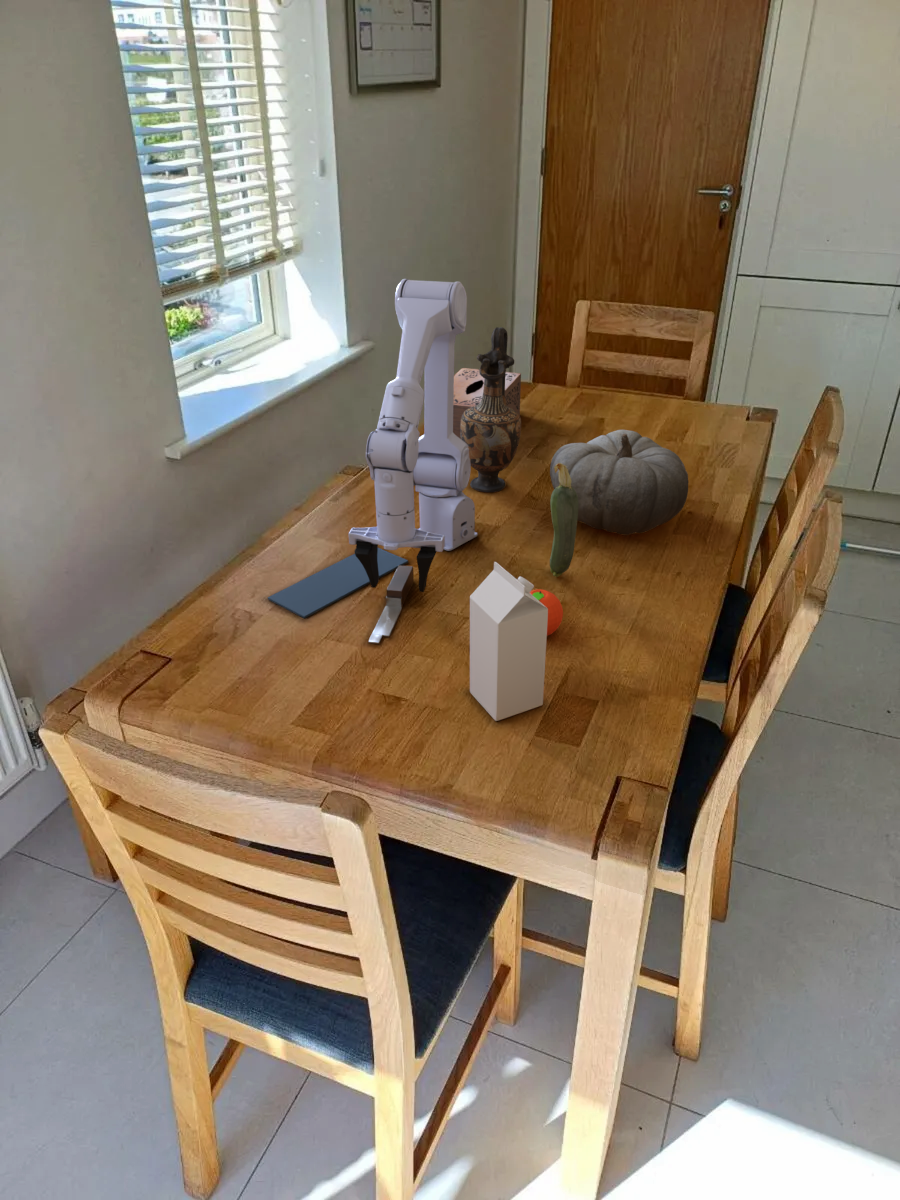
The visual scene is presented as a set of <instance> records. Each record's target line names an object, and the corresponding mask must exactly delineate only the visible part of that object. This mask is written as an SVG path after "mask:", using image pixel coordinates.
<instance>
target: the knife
mask: <svg viewBox="0 0 900 1200" xmlns="http://www.w3.org/2000/svg"><path fill="white" fill-rule="evenodd" d="M414 577H415V576H414V566H413V565H412V566H411V565H399V566H398V568H397V569H395V572H394V573H393V576H392V579H391V580H390V582H389V584H388V586H387V588H386V591H385V592H386V596H385V606H384V608H383V610H382V612H381V615H380V616H379V618H378V620H377V622H376V625H375V627H374V629H373V631H372V633H371V635H370V637H369V638H368V641H367V643H368V644H370V645H371V644H372V645H380V643H381V641H382V639H383V638H390V636H391V634H392V632H393V629H394V628H395V625H396V623H397V621H398V619H399V616H400V614H401V613H402V609H403V606H404V604H405V601H406V600H407V597H408V595H409V593H410V590H411V588H412V586H413V584H414V580H415V578H414Z"/></svg>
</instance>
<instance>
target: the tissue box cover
mask: <svg viewBox="0 0 900 1200" xmlns="http://www.w3.org/2000/svg"><path fill="white" fill-rule="evenodd" d="M479 370H480V368H479V369H478V368H468V367H467V368H466V367H462V368H460V369H459V370H458V371H457V372H456V373H454V396H453V433H454V434H455V435H456V436H457V437H459V438H460V439H461V433H460V426H461V418H462V415H463V413H464V412H465V411H466V410H467V409H468V408H470V407H473V406H476V405H479V404H480V402H481V400H482V396H483V390H484V379H485V378H483V377H482V376H481V375H480V373H479ZM521 381H522V373H521V372H510V371H506V373H505V400H506V405H507V407H510V408H512V409H513V410H515V411H516V412H517V413H518V414H519V415H520V416H521V414H520V413H521V392H522V391H521V387H522V382H521Z"/></svg>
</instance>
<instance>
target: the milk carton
mask: <svg viewBox="0 0 900 1200" xmlns="http://www.w3.org/2000/svg"><path fill="white" fill-rule="evenodd" d="M534 588H535V585H534V584H533V583H532V582H530V580H528V579H526V578H525V577H523V576H518V577H517V578H516V577H515V576H514V575H512V574H511V573H510V572H509V571H508V570H506V568H504V567H502V565H500V564H499V563H498V562H497V561H493V570H492V571H491V572H490V573H489V574H488V575H487V576H486V577H485V579H484V580H483V581H482V582H480V584H479V585H478V586H477V588H476V589H475V590H474V591H473V592H472V593H471V594H470V596H469V693H470V694H471V695H472V697H473V698H474V699H475V700H476V701H477V702H478V703H479V705H480V706H481V707H482V708H483V709H484V710H485V711H486V713H488V714H489V716H490V717H491V718H492V719H493V720H494V721H495V722H497V721H498V722H499V721H501V720H504V719H507V718H510V717H512V716H513V717H514V716H515V715H518V714H521V713H524V712H527V711H530V710H533V709H536V708H539V707H541V706H543V705H544V694H545V693H544V691H545V675H546V656H547V638H548V636H547V621H548V608H547V607H546V606H544V605H543V604H542V603H541V602H540V601H539V600H537V599H536V598H535V597H534V596H533V595H531V594H530V592H531V591H532V590H534Z"/></svg>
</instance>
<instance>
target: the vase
mask: <svg viewBox="0 0 900 1200" xmlns="http://www.w3.org/2000/svg"><path fill="white" fill-rule="evenodd" d="M508 339H509V338H508V331H507V329H506V328H505V327H499V326H498V327H497V326H496V327H495V328H494V329H493V331H492V333H491V337H490V340H491V341H490V342H491V347H490V350H489V351H488V352H486V353H484V354H482V353H479V354H477V356H476V359H477V361H478V362H480V367H479V373H480V375H481V376H482V377H483V378H485V379H484V390H483V396H482V400H481V402H480V404H479V405H476V406H473V407H470V408H468V409H467V410H466V411H465V412H464V413H463V415H462V418H461V426H460V433H461V440H462V441H464V442H465V443H466V444H467V445H468V448H469V459H470V463H471V467H472V469H474V470H475V471H477V477H475V478H473V479H471V481H470V484H469V485H470V486H469V487H471V489H473V490H474V491H478V492H482V493H496V492H497V493H498V492H500V491H502V490H504V489H505V488H506V486H507V484H506V481H505V480H504V479H503V478H502V477H499V474H500V472H502V471H504V470H505V469H506V468H508V467H509V465H510V464H511V463H512V461H513V460H514V459H515V456H516V453H517V450H518V448H519V444H520V441H521V436H522V435H521V434H522V418H521V414H520V415H519V414H518V413H517V412H516V411H515V410H513V409H512V408H510V407H507V405H506V400H505V373H506V372H507V369H509V368H510V367H513V366H514V365H515V359H514V358H513V357H512V356H510V355H508V354H507V353H508V352H507V351H508V341H509V340H508Z"/></svg>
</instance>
